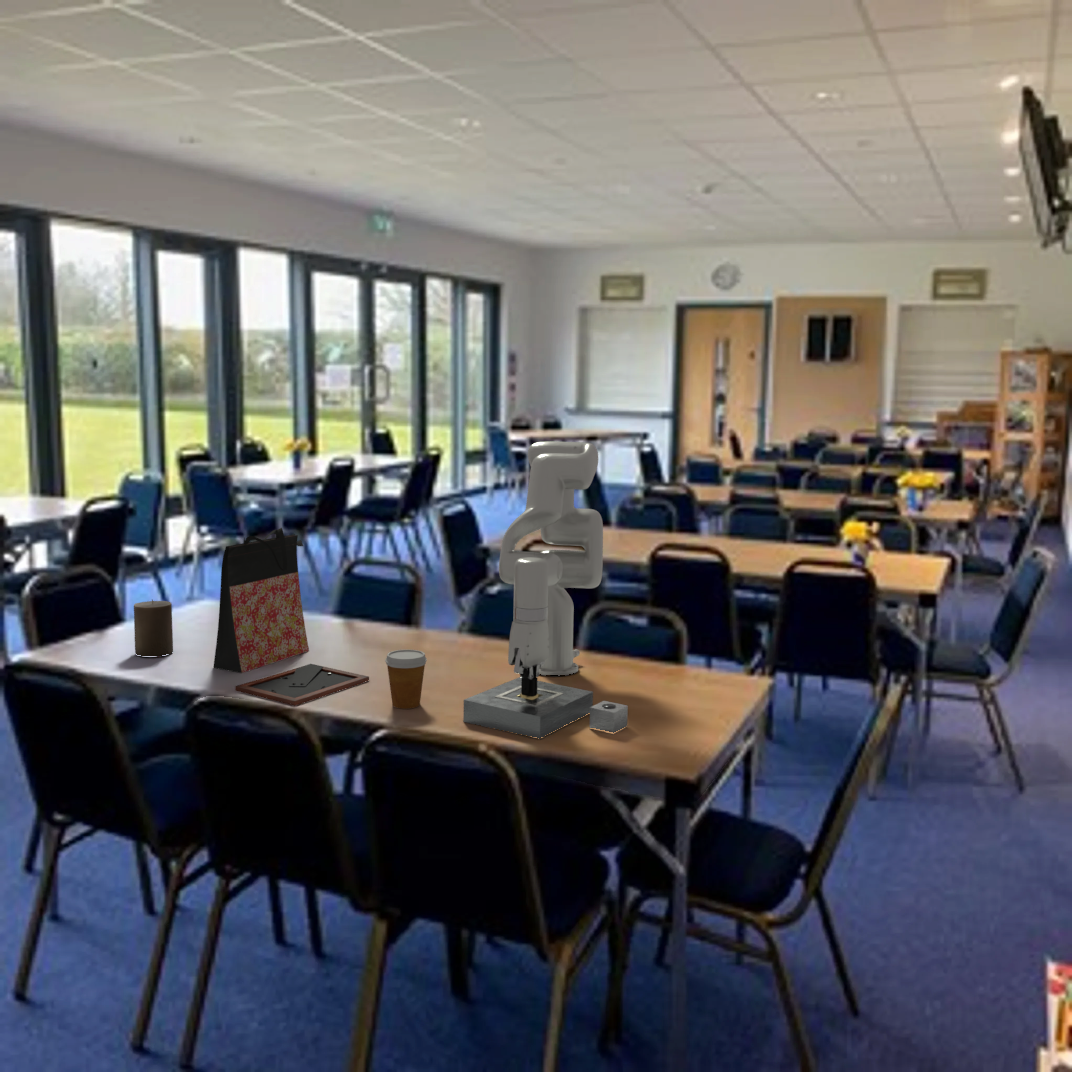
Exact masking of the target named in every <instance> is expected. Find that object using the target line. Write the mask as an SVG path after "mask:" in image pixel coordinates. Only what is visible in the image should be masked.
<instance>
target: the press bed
mask: <svg viewBox="0 0 1072 1072" xmlns="http://www.w3.org/2000/svg"><path fill="white" fill-rule="evenodd" d="M521 681H522V678H521V677H520V676H519V677H516V678H515V679H511V680H509V681H507V682H505V683H501V684H500V685H497V686H494V687H491V688H489V689H487V690H483V691H482V692H479V693H477V694H475V695H472V696H469V697H467V698H464V699H463V716H462V717H463V720H462V721H463V723H467V724H471V725H475V724H476V726H479V725H481V726H480V727H485V728H488V727H489V729H492V728H495V729H494V730H496V729H499V730H498V731H501V730H504V731H503V732H505V731H509V732H513V733H517V734H516V735H518V734H522V735H527V736H532V737H537V738H539V739H540V738H541V737H544V736H545V735H547V734H549V733H551V732H553V731H555V730H557V729H559V728H561V727H563V726H564V725H566V724H569V723H570V722H572V721H575V720H577V719H578V718H581V717H583V716H585V715H586V714H588V713H590V707H592V706H594V705H593V704H594V703H593V701H594V691H592V690H587V689H586V690H585V689H581V688H575V687H573V686H572V687H571V686H566V685H561V684H557V683H552V682H551V683H550V682H546V681H541V680H537V693H538V698H536V699H534V700H530V699H525V698H520V694H521ZM509 732H508V733H509ZM513 733H512V734H513ZM522 735H521V736H522ZM544 738H545V737H544ZM539 739H538V740H539ZM540 740H541V739H540Z"/></svg>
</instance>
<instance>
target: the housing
mask: <svg viewBox="0 0 1072 1072" xmlns="http://www.w3.org/2000/svg"><path fill="white" fill-rule="evenodd" d="M628 707H629V706H628V705H625V704H621V703H617V702H611V701H607V700H602V701H600V702H598V703H596V704H594V705H593V706H592V707H590V715H589V725H588V726H589V727H590V728H596V729H600V730H605V731H609V732H613V733H614V732H616V731H618V730H620V729H622V728H624V727H626V726H627V727H628V715H629V714H628V710H629V708H628ZM589 727H588V728H589Z"/></svg>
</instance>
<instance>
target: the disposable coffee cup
mask: <svg viewBox="0 0 1072 1072" xmlns="http://www.w3.org/2000/svg"><path fill="white" fill-rule="evenodd" d="M427 661H428V659H427V657H426V653H425V652H424V651H422V650H418V649H417V650H416V649H397V650H392V651H390V652H388V653H387V654H386V658H385V659H384V662H385V664H386V666H387V672H388V673H387V674H388V682H389V688H390V689H389V690H390V695H391V705H392V707H394V708H396V709H402V710H409V709H415V708H418V707H420V705H421V699H422V697H421V696H422V688H423V681H424V673H425V667H426V662H427Z"/></svg>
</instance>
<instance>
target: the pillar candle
mask: <svg viewBox="0 0 1072 1072" xmlns="http://www.w3.org/2000/svg"><path fill="white" fill-rule="evenodd" d="M172 607H173V606H172V602H171V601H167V600H153V599H151V600H150V601H149V600H147V601H142V602H136V603H134V604H133V624H134V653H136V654H137V655H141V656H162V655H166V654H170V655H172V654H173V653H174V639H173V636H174V632H173V613H172V612H173V609H172ZM172 652H173V653H172ZM171 653H172V654H171ZM136 654H135V655H136Z"/></svg>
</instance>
